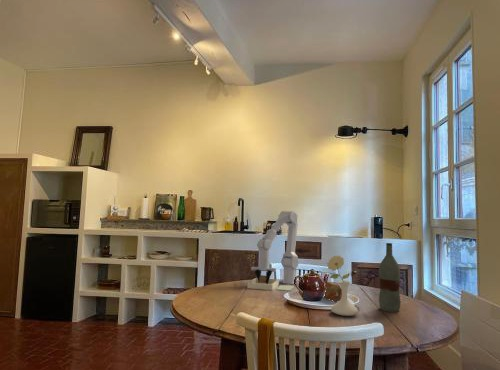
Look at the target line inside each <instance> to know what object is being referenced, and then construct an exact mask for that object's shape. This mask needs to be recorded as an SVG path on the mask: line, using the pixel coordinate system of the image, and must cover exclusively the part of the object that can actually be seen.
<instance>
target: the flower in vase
mask: <svg viewBox="0 0 500 370" xmlns="http://www.w3.org/2000/svg"><path fill="white" fill-rule="evenodd" d="M344 262H345V259H344V257H342V256H341V255H334V256H332V257H331V258H330V259H328V262H327V264H326V265H327V268H328V269H329V270H332V271H336V270H337V271H338V273H333V274H331V275H330V276H329V278H331V279H338V278H340V280H338V281H337V282H338V283H339V286H340V287H341V289H342V297H341V300H340V301H337V302H336V303H334V304H333V305H332V306H331V308H330V311H331V313H333V314H335V315H339V316H344V317H346V316H347V317H352V316H355V315H357V314H358V313H359V310H358V308H357V307H356V306H355V305H354V304H353V303H352V302H350V300H349V299H348V288H349V285H350V284H351V281H349V280H344V279H348V278H349V277H350V273H351V272H349V273H346V274H344V275H342V276H341V274H340V270H339V269H341V268H342V267H344V266H343V265H344V264H345V263H344Z"/></svg>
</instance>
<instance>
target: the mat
mask: <svg viewBox="0 0 500 370" xmlns="http://www.w3.org/2000/svg"><path fill="white" fill-rule="evenodd" d="M294 288H295V285H283V284H280V285H278V286H277V287H276V288H275V290H276V291H284V292H285V291H286V292H291V291H292V290H293V289H294Z"/></svg>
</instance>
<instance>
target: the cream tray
mask: <svg viewBox="0 0 500 370" xmlns="http://www.w3.org/2000/svg"><path fill="white" fill-rule="evenodd" d="M279 282H280V280H279V279H273V278H272V279H271V278H269V282H268V284H261V283H258V278H257V277H256V278H253V279H252V280H250V281H248V282H247V287H246V288H247V289H254V290H256V289H257V290H266V291H273V290H276V289H277V288H278V287H279V286H280V285H279Z"/></svg>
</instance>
